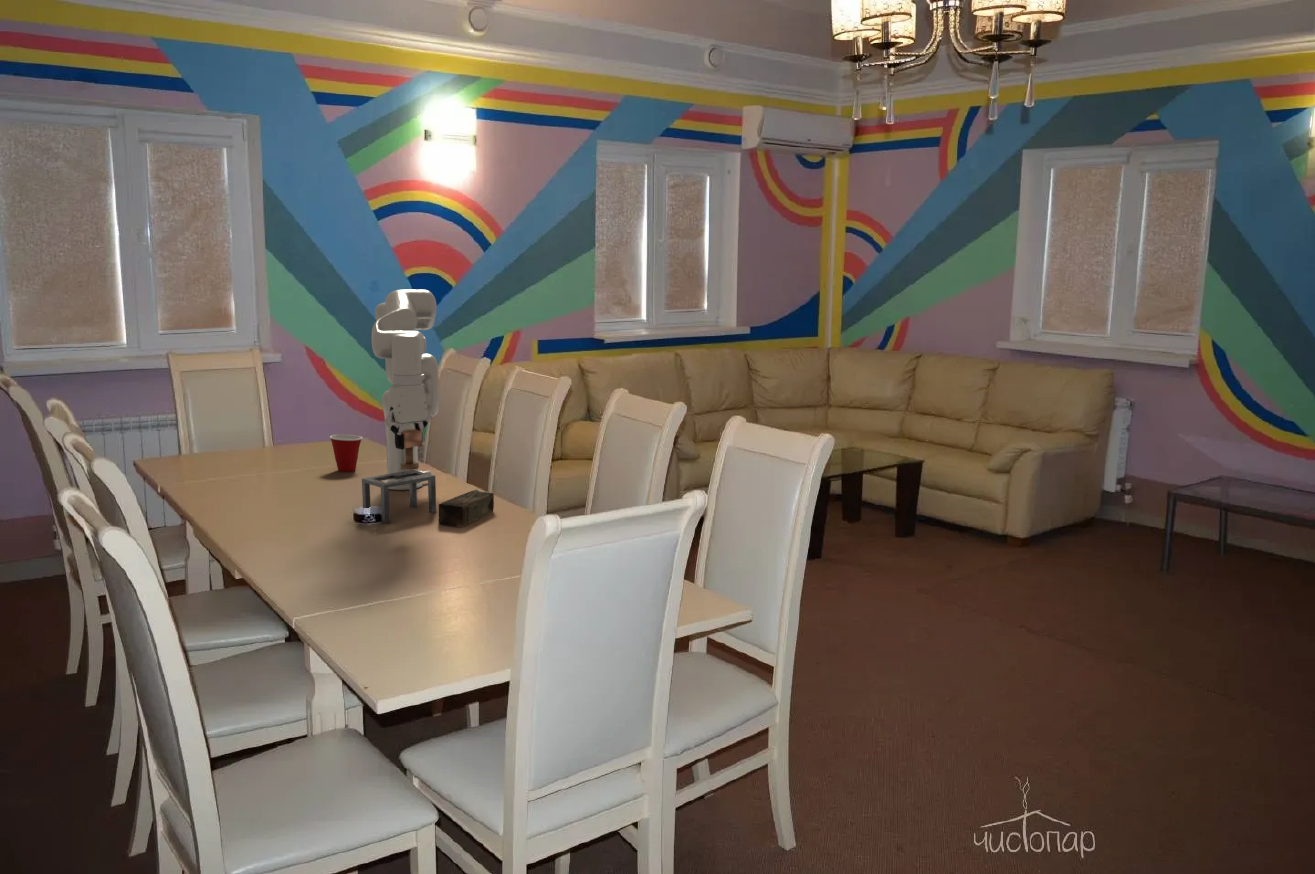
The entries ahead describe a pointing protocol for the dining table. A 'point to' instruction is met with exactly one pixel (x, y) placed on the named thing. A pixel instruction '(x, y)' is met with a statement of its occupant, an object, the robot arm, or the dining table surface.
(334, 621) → the dining table surface
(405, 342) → the robot arm
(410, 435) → the t peg
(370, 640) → the dining table surface
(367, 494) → the keyhole rack
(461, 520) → the beverage carton
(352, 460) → the plastic cup
